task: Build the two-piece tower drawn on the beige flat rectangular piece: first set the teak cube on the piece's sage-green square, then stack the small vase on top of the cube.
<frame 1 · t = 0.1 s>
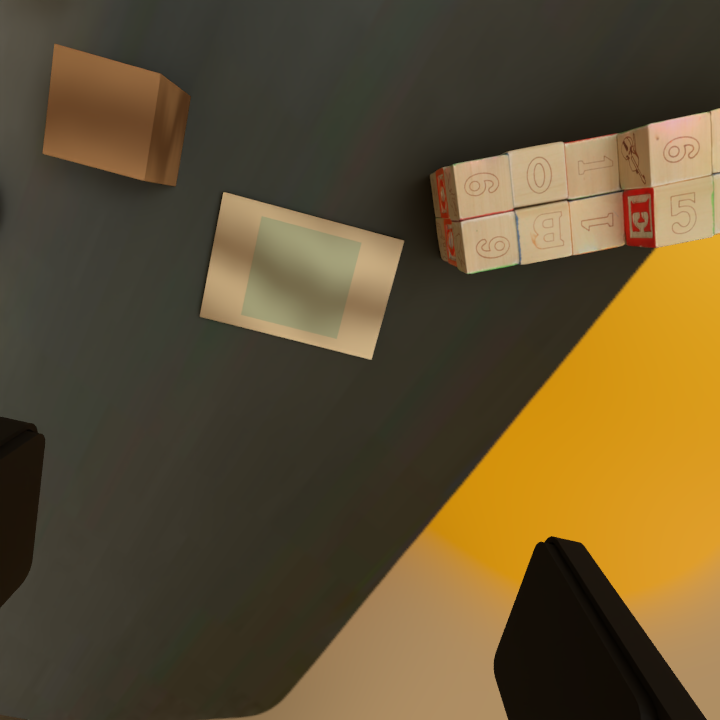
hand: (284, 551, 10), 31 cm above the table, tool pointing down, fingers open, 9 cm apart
beige flat rectangular piece: (301, 278, 40), on the table
teak cube: (140, 130, 37), on the table
stack of blocks: (581, 192, 39), on the table
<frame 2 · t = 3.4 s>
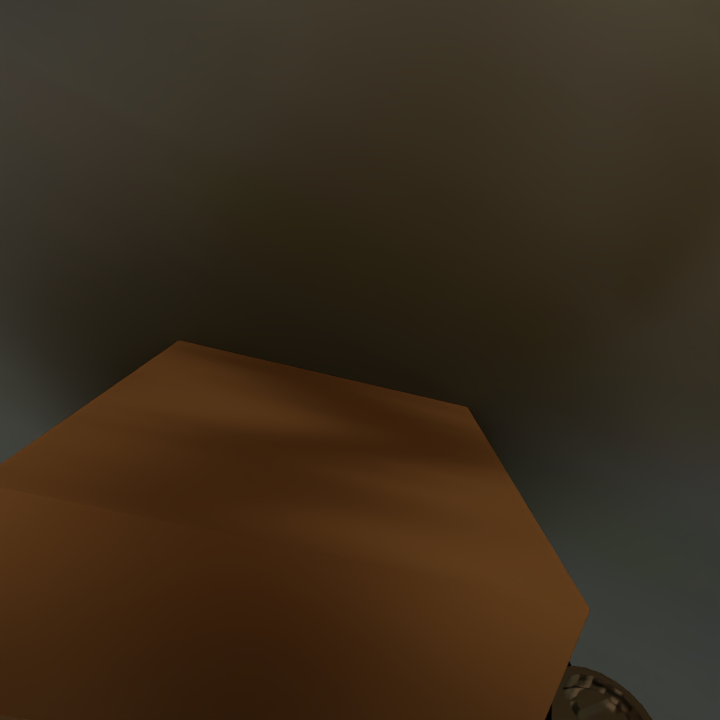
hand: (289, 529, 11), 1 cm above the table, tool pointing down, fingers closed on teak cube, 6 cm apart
teak cube: (295, 503, 12), on the table, touching gripper
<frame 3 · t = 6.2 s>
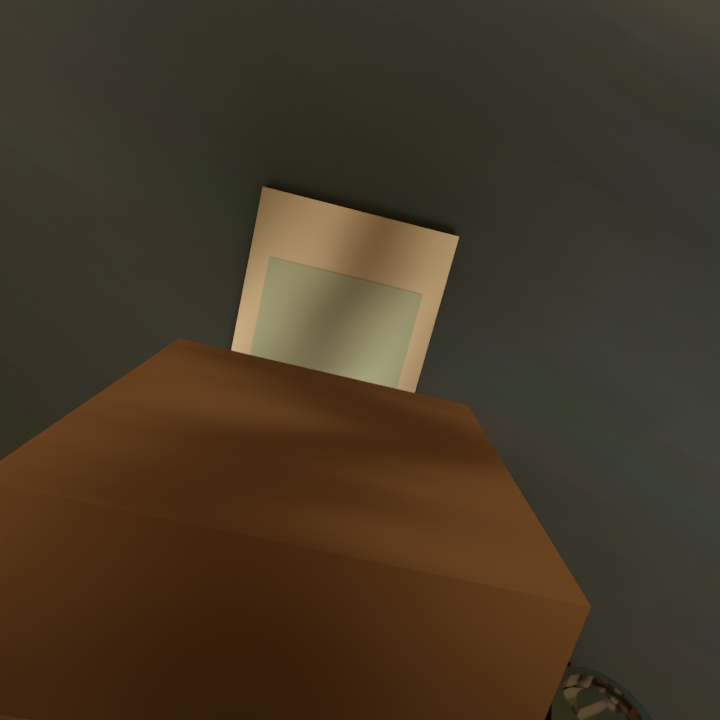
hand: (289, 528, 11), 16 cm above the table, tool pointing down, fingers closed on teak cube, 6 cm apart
beige flat rectangular piece: (330, 346, 26), on the table
teak cube: (295, 502, 12), point 15 cm above the table, touching gripper
when the fingers open (3 cm above the table, at t = 9.0 s): teak cube stays where it is, resting on beige flat rectangular piece.
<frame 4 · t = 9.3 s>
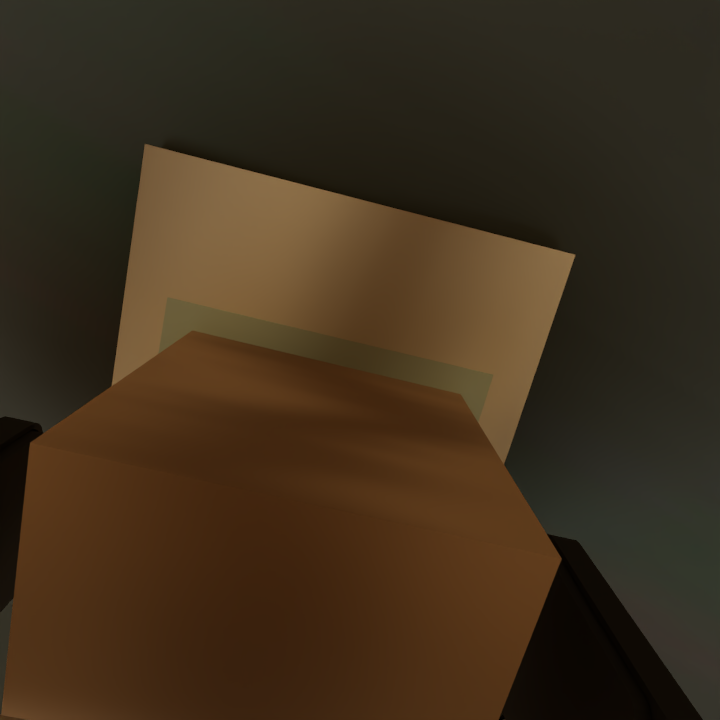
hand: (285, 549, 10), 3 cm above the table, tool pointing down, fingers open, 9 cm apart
beige flat rectangular piece: (301, 468, 13), on the table
teak cube: (299, 484, 12), point 1 cm above the table, touching beige flat rectangular piece
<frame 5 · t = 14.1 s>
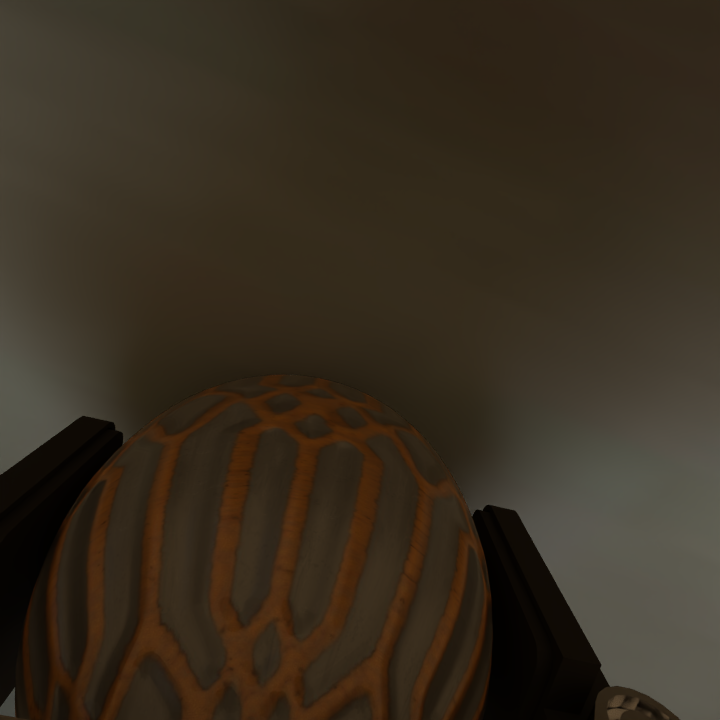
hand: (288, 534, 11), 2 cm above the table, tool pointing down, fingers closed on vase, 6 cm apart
vase: (299, 480, 13), on the table, touching gripper
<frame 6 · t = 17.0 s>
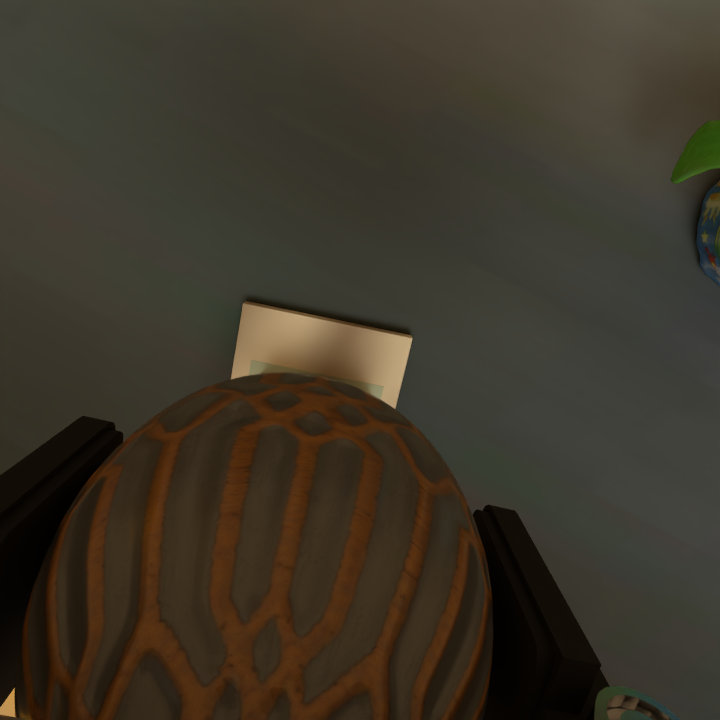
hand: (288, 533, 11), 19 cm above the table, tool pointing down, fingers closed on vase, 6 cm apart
beige flat rectangular piece: (306, 429, 31), on the table
vase: (299, 479, 13), point 17 cm above the table, touching gripper
when the fingers open (10 cm above the table, at t = 20.2 s): vase drops 1 cm, resting on teak cube.
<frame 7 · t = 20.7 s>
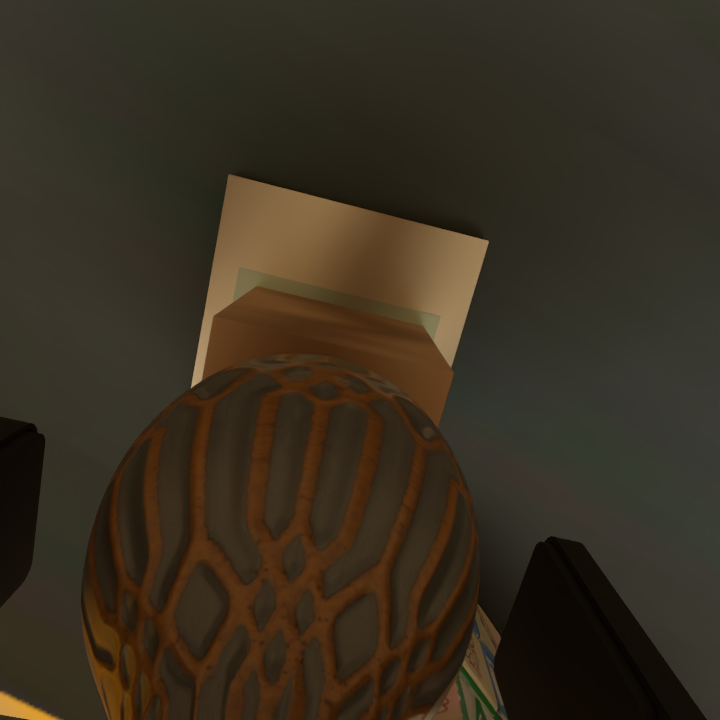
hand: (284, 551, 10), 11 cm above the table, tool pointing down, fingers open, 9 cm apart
beige flat rectangular piece: (319, 381, 20), on the table
vase: (309, 454, 14), point 7 cm above the table, touching teak cube
teak cube: (322, 385, 20), point 1 cm above the table, touching beige flat rectangular piece, vase
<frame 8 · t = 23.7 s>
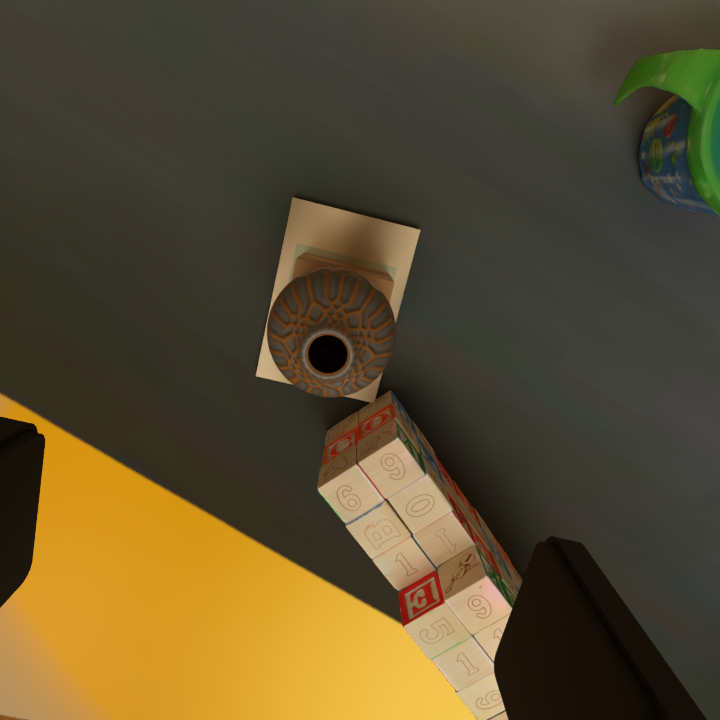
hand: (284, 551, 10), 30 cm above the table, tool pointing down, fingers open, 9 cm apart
beige flat rectangular piece: (335, 303, 39), on the table
snack cup: (685, 150, 37), on the table
vase: (334, 319, 33), point 7 cm above the table, touching teak cube
teak cube: (337, 303, 38), point 1 cm above the table, touching beige flat rectangular piece, vase
stack of blocks: (430, 510, 44), on the table
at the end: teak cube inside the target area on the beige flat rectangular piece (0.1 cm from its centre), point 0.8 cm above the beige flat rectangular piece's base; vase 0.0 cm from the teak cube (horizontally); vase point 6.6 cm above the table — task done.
